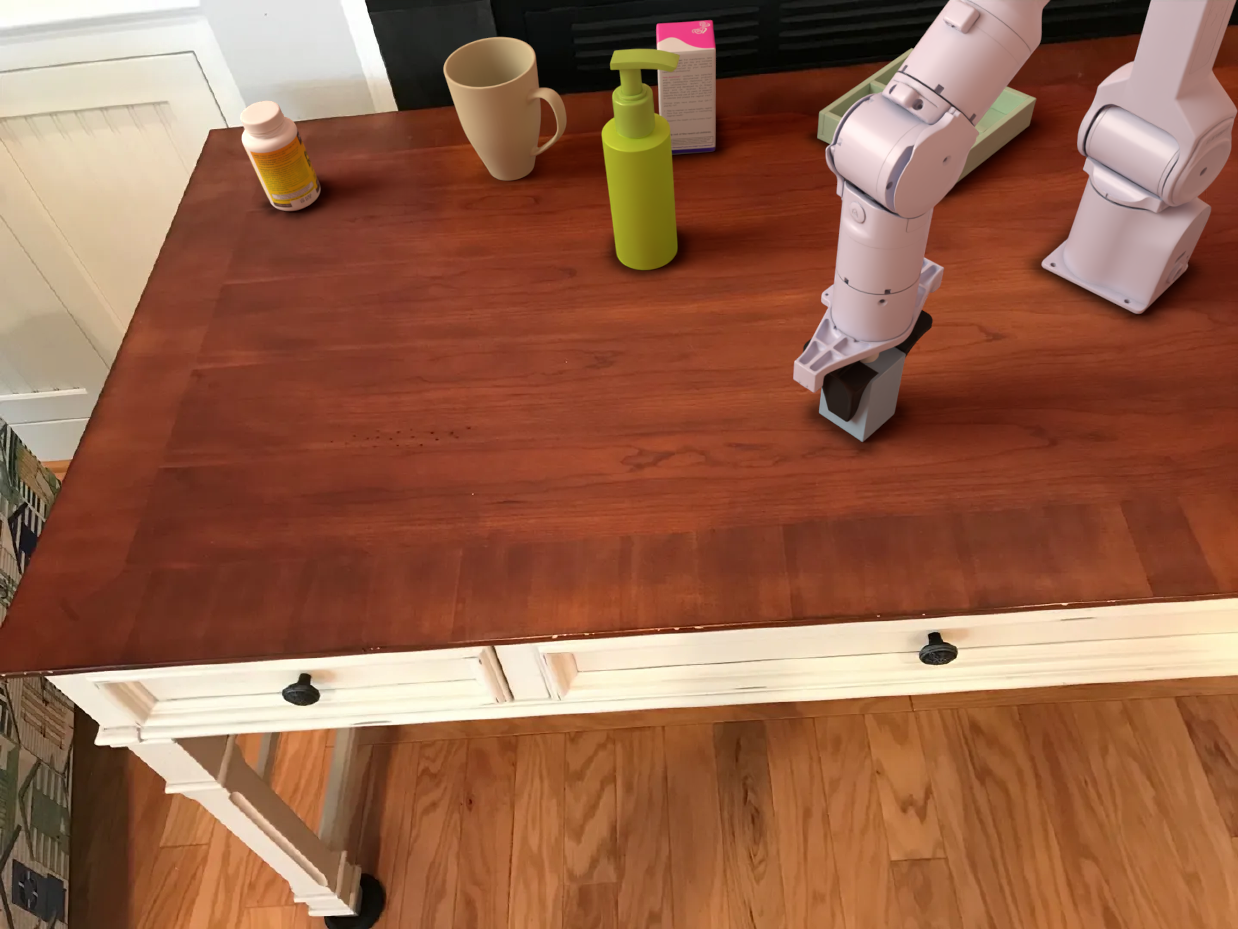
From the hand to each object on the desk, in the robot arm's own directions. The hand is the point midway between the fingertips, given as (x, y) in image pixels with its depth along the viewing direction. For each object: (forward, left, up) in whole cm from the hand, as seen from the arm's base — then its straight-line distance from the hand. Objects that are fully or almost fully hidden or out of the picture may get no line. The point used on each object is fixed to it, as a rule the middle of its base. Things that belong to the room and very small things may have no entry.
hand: (859, 397), depth 78 cm
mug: (+47, -3, -2) cm, 47 cm away
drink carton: (0, 0, -2) cm, 2 cm away
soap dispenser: (+27, -3, -2) cm, 27 cm away
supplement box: (+37, -18, -2) cm, 41 cm away
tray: (+19, -34, -2) cm, 39 cm away
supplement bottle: (+62, +16, -2) cm, 64 cm away
